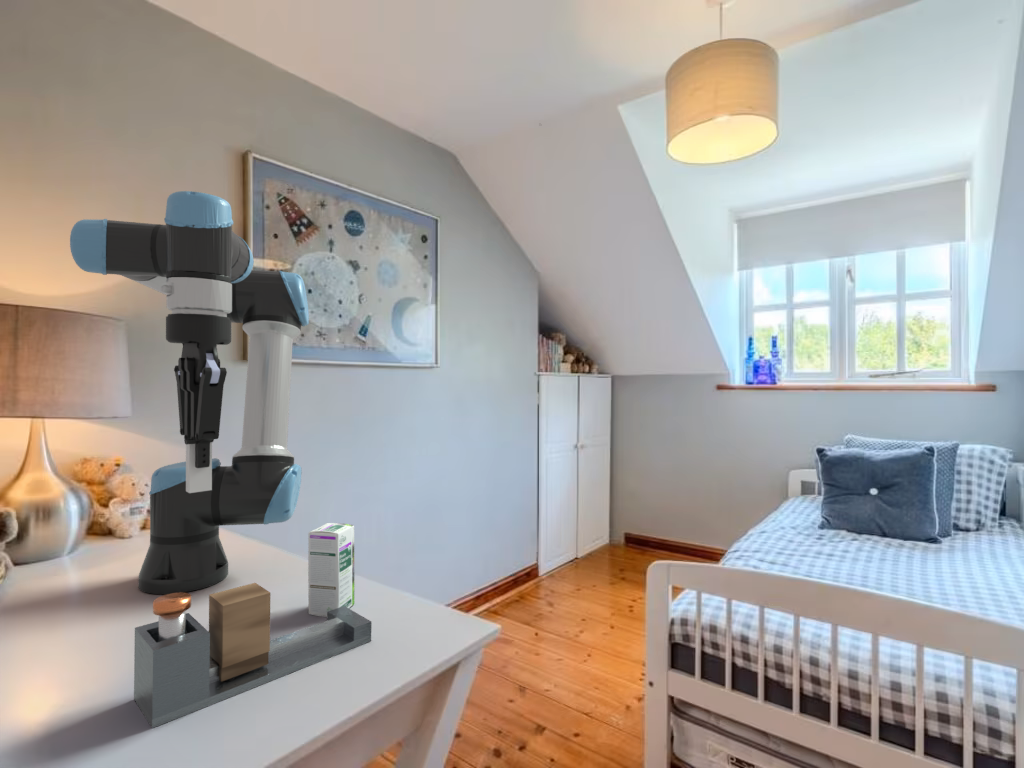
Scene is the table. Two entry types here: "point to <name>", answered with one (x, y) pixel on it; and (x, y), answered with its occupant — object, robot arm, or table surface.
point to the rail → (195, 679)
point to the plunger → (171, 614)
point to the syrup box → (330, 568)
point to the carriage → (239, 629)
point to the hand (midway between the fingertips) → (198, 490)
